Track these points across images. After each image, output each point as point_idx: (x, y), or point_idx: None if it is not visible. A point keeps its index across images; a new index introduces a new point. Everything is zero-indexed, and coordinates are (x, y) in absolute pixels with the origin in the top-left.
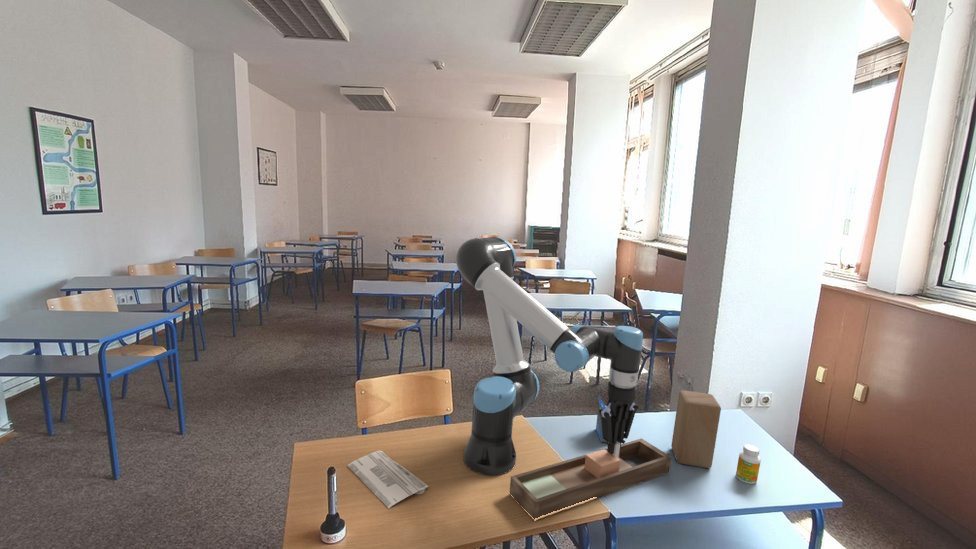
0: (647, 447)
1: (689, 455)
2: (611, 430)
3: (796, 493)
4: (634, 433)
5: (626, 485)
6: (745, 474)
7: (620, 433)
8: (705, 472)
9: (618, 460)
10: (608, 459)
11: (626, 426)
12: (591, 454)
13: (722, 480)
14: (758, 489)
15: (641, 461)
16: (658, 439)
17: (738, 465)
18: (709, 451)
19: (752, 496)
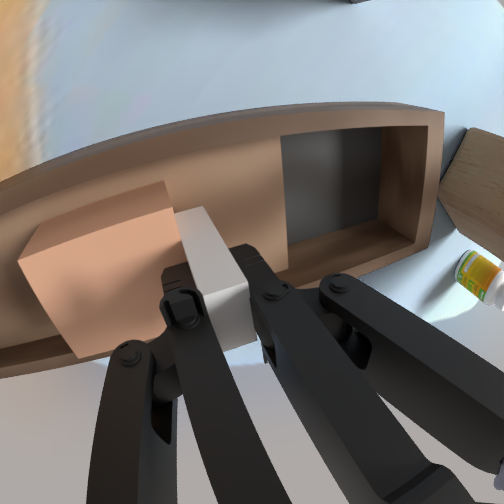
0: (421, 167)
1: (463, 220)
2: (174, 494)
3: (466, 299)
4: (443, 18)
5: None
6: (465, 283)
7: (288, 393)
8: (443, 236)
9: None
10: (139, 315)
11: (386, 386)
12: (51, 261)
13: (440, 265)
14: (449, 291)
15: (367, 150)
16: (469, 79)
17: (477, 273)
18: (487, 248)
19: (429, 309)
